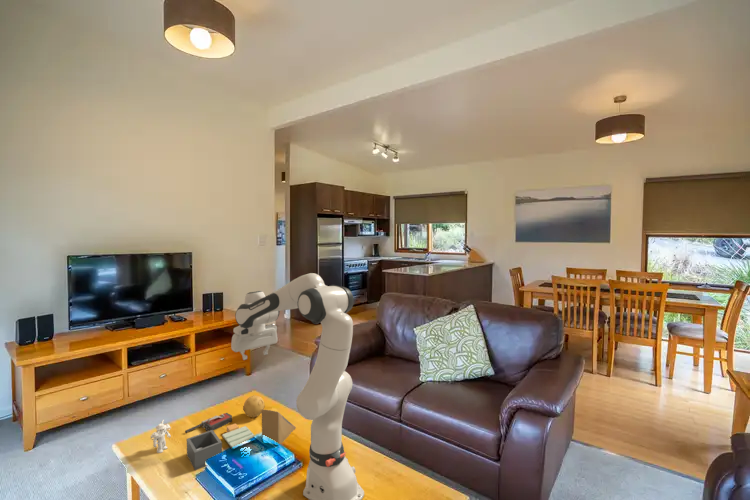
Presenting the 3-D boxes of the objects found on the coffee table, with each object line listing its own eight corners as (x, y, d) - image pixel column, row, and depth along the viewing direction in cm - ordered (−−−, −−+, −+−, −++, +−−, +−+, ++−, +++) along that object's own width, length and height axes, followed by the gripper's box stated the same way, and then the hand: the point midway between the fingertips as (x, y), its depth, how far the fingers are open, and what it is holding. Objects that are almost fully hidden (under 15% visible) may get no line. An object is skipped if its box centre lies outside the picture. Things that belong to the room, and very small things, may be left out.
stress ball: (249, 413, 178) (235, 407, 171) (261, 395, 181) (248, 389, 175) (259, 423, 171) (245, 417, 165) (272, 405, 175) (258, 398, 168)
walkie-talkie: (225, 415, 175) (184, 433, 159) (225, 407, 174) (183, 424, 158) (235, 421, 169) (193, 440, 153) (235, 412, 169) (193, 431, 153)
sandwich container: (297, 427, 164) (296, 396, 163) (279, 446, 149) (278, 412, 148) (280, 424, 166) (280, 393, 165) (261, 443, 151) (261, 409, 151)
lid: (256, 442, 152) (256, 436, 152) (232, 451, 145) (232, 445, 145) (242, 426, 164) (242, 420, 164) (219, 434, 157) (219, 429, 157)
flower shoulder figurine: (166, 443, 151) (165, 416, 150) (173, 444, 150) (173, 417, 150) (148, 456, 142) (148, 427, 141) (157, 457, 141) (156, 428, 141)
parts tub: (222, 459, 140) (221, 442, 140) (195, 470, 134) (194, 452, 133) (212, 445, 149) (212, 429, 149) (187, 455, 142) (186, 438, 142)
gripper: (273, 321, 166) (273, 350, 166) (229, 329, 152) (230, 360, 153) (279, 324, 161) (280, 353, 162) (234, 332, 148) (235, 364, 148)
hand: (255, 357), depth 157 cm, fingers open, 8 cm apart
